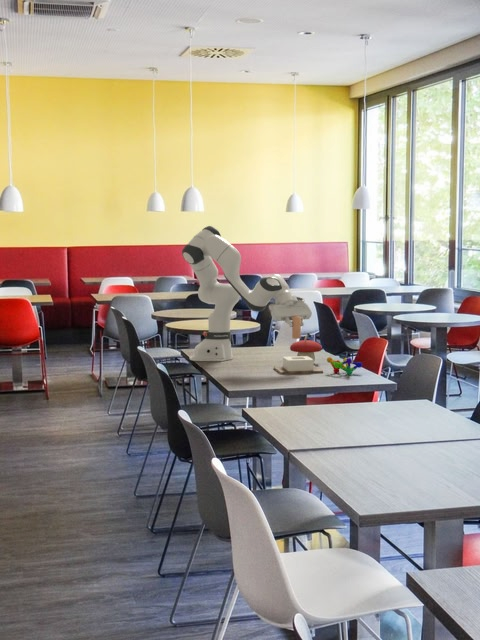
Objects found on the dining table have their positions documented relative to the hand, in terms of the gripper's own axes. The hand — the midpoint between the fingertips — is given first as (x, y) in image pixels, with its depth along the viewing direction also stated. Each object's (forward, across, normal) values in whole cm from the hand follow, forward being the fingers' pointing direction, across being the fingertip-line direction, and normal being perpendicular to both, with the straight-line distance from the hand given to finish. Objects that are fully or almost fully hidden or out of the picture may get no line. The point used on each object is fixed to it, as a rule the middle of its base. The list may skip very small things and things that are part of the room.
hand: (297, 325), depth 396 cm
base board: (+15, +1, +16) cm, 21 cm away
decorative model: (+27, +15, +4) cm, 31 cm away
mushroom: (+2, +17, +28) cm, 33 cm away
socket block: (+15, +1, +16) cm, 21 cm away
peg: (+4, 0, +4) cm, 6 cm away
